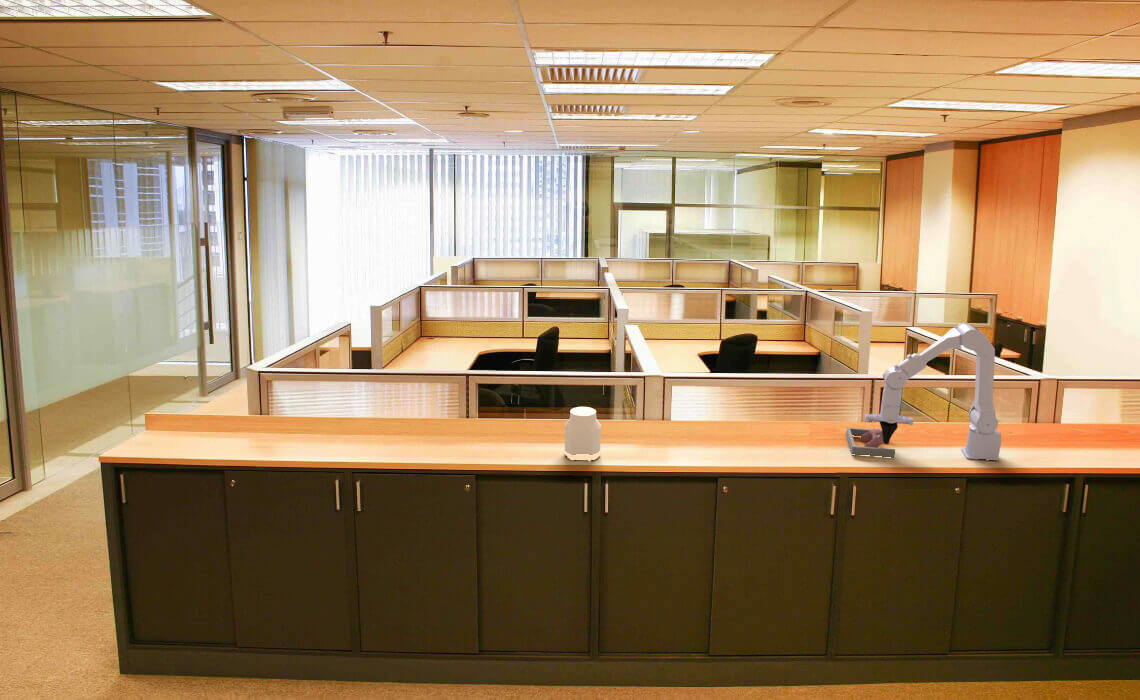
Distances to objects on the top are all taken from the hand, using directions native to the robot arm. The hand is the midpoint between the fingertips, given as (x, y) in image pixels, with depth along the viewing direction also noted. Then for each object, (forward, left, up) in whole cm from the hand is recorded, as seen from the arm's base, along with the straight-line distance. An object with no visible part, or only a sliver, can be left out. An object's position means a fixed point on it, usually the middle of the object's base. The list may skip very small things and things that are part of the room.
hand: (885, 443), depth 268 cm
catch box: (+5, 0, -2) cm, 5 cm away
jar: (+96, +28, -2) cm, 100 cm away
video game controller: (+4, 0, -2) cm, 5 cm away
